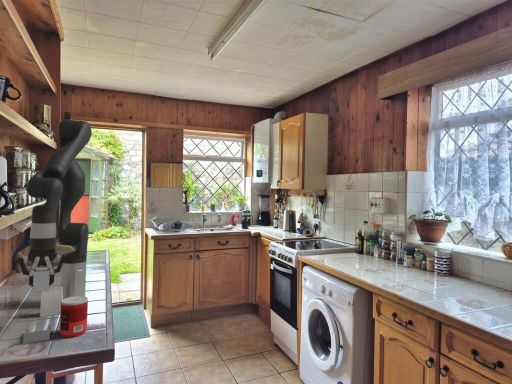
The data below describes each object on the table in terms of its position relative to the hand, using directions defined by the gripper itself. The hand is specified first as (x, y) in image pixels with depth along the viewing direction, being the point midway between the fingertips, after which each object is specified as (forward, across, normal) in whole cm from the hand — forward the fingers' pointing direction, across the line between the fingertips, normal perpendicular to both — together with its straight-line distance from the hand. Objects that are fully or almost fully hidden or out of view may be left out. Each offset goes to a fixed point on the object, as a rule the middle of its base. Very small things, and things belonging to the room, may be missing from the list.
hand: (41, 285), depth 115 cm
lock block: (+1, 0, 0) cm, 1 cm away
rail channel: (+14, 0, +9) cm, 16 cm away
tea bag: (+14, -3, -11) cm, 18 cm away
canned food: (+14, -10, +11) cm, 20 cm away
